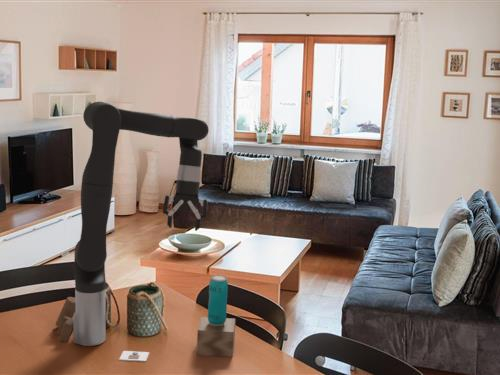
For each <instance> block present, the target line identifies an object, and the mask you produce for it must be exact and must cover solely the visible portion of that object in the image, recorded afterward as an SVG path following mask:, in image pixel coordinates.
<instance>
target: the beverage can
mask: <svg viewBox="0 0 500 375" xmlns="http://www.w3.org/2000/svg"><path fill="white" fill-rule="evenodd" d="M208 283H209V284H208V303H207V305H208V306H207V307H208V308H207V309H208V310H207V317H208V321H209V324H210V325H212V326H222V325H224V323H225V321H226V318H227V309H228V289H229V287H228V286H229V282H228V277H227V276H224V275H219V274H216V275H212V276H210V280H209V282H208Z"/></svg>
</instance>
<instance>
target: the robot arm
mask: <svg viewBox="0 0 500 375" xmlns="http://www.w3.org/2000/svg"><path fill="white" fill-rule="evenodd" d="M83 122H84V124H85V125H86V126H87V128H89V129H90V131H91V130H92V140H91V141H92V142H91V143H92V144H91V150H90V155H89V157H88V160H87V162H86V164H85V167H84V170H83V173H82V177H81V186H80V187H81V188H80V214H81V232H80V238H79V240H78V241H77V242H76V244H75V247H74V285H75V289H74V291H75V293H74V294H75V295H74V298H75V313H74V315H73V318H72V319H73V332H72V333H73V334H72V335H73V344H77V345H81V346H85V347H92V346H97V345H101V344H102V343H104V342H105V341H106V334H107V333H106V332H107V331H106V298H107V297H106V295H107V294H106V286H107V285H106V284H107V283H106V282H107V281H106V270H105V268H106V267H105V266H106V261H107V254H108V253H107V229H108V228H107V226H108V220H109V215H110V210H111V204H112V197H113V186H114V171H115V162H116V150H117V144H118V138H119V134H120V131H121V130H122V131H128V132H130V131H131V132H136V133H140V134H145V135H150V136H156V137H162V138H163V137H164V138H178V140H179V150H180V154H179V164H178V168H177V169H178V170H177V176H176V186H175V193H174V195H173V196H171V195H168V194H167V195H165V197H164V202H163V209H162V213H163V214H164V215H167V222H166V224H167V226H168V228H169V229H171V228H172V227H173V219H174V218H173V217H174V216H173V215H174V214H175V213H176V212H177V210H180V211H186V212H192V213H193V214H194V215H195V217H196V218H195V225H194V231H198V230H200V228H201V223H202V222H201V220H202V219H206V218H207V216H208V199H200V198H199V193H200V182H201V172H202V170H201V168H202V156H203V154H202V153H203V152H202V150H201V149H200V148H199V146H198V141H202V140H203V139H205V138H206V137H207V136H208V134H209V131H210V130H209V129H210V128H209V126H208V124H207V122H205V121H204V120H203V119H201V118H196V117H195V118H194V117H184V116H183V117H182V116H181V117H179V116H174V115H171V114H170V115H169V114H164V113H155V112H143V111H135V110H128V109H125V108H119V107H116V106H115V105H114V104H113V103H109V102H106V101H105V102H104V101H94V102H92V103H90V104H88V105H87V106H86V107H85V108H84V111H83ZM172 201H173V202H174V204H175V205H174V206H173V207H172V209H171V210H169V204H170V203H171V202H172ZM199 203H200V206H201V207H202V214H200V212H199V209H197V205H198V204H199Z"/></svg>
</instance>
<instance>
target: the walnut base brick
mask: <svg viewBox="0 0 500 375" xmlns="http://www.w3.org/2000/svg"><path fill="white" fill-rule="evenodd" d="M235 336H236V318H230V317H229V318H228V317H226V321H225V323H224V325H222V326H212V325H210V324H209V321H208V316H201V317H200V319H199V324H198V328H197V336H196V337H197V339H196V341H197V342H196V356H210V357H211V356H213V357H228V358H229V357H231V358H233V356H234V348H235V339H236V338H235Z"/></svg>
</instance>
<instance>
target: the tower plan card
mask: <svg viewBox="0 0 500 375" xmlns="http://www.w3.org/2000/svg"><path fill="white" fill-rule="evenodd" d="M149 355H150V351H133V350H123V351H122V352H121V355H120V356H119V358H118V361H125V362H127V361H128V362H129V361H130V362H145V363H146V362H147V361H148V357H149Z"/></svg>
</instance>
